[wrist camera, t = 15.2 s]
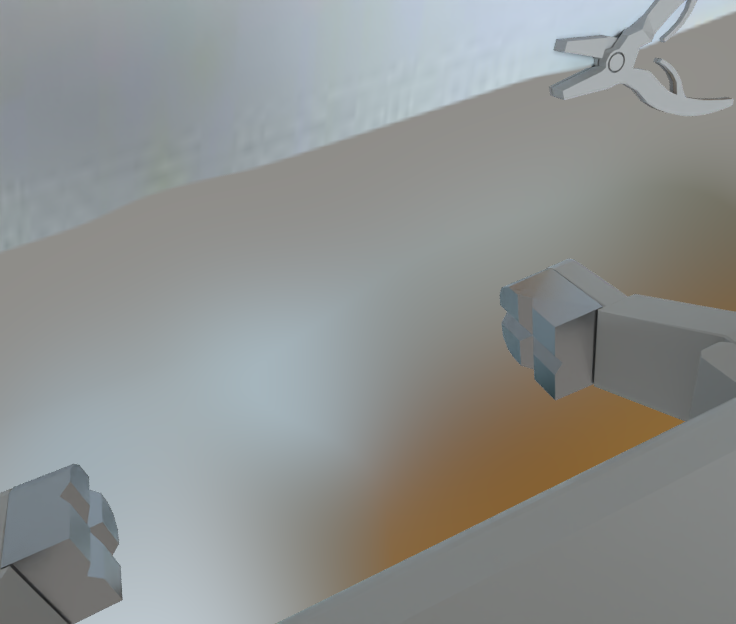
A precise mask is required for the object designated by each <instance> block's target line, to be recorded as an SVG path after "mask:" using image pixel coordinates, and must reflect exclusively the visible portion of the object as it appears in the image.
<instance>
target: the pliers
mask: <svg viewBox="0 0 736 624" xmlns="http://www.w3.org/2000/svg"><path fill="white" fill-rule="evenodd" d="M684 1H686V0H655V1H654V2H653V4H652V5H651V6H650V7H649V9H648V10H647V11H646V12H645V14H644V15H643V16H642V17H640V18H639V19H638V20H637V21H636V22H635V23H634V24H632V25H631V26H630V27H629V28H627V29H625V30H624V31H623V32H622V34H621V36H620V37H619V38H615V37H609V36H603V35H598V36H588V37H577V38H567V39H556V43H555V47H554V50H557V51H562V52H567V53H573V54H580V55H586V56H592V57H593V58H594V64H593V65H591V67H590V68H586V69H584V70H582V71H580V72H578V73H575V74H573V75H571V76H569V77H567V78H565V79H563V80H561V81H559V82H557V83H555V84H553V85H551V86H549V91H550V95H551V96H554V97H557V98H560V99H563V100H566V99H570V98H574V97H577V96H581V95H585V94H589V93H593V92H597V91H601V90H605V89H608V88H611V87H613V86H615V85H617V84H619V83H621V84H623V85H624V86H626V87H628V88H629V89H631V90H632V91H633V93H634V94H635V95H636V96H637V97H638V98H639V99H640V101H641V102H643V103H644V104H646V105H648V106H649V107H651V108H654V109H656V110H659V111H662V112H666V113H670V114H675V115H682V116H697V115H704V114H710V113H713V112H716V111H719V110H722V109H725V108H727V107H730V106H732V105H733V100H734V99H732V98H728V97H721V98H690V97H686V96H685V94H684V92H683V88H682V83H681V79H680V77H679V75H678V73H677V71H676V70H675V69H674V68H673V67H672V66H671V65H670V64H669V63H668V62H666V61H665V60H663V59H660V58H655V59H654V61H653V62H655V63H656V64H658V65H659V66H660V67H661V68H662V69H663V70H664V71H665V72H666V75H667V77H668V79H669V83H670V84H669V86H670V91H668V90H667V89H666V88H665V87H664V86H662V84H661V83H660V82H659V81H658V80H657V79H656V78H655V77H654V75H652V73H651V72H650V71H647V70H643V69H637V68H633V66H634V63H635V60H636V57H637V55H638V52H639V49H640V47H642V46H644V45H646V44H648V43H650V42H652V39H653V37H654V34H655V33H656V32H657V31H658V29H659V28H660V27H661V26H662V25H663V24H664V22H665V21H666V20H667V19H668V18H669V17H670V16H671V14H672V13H673V12H674V11H675V10H676V9H677V8H678V7H679V6H680V5H681V4H682V3H683V2H684ZM696 2H697V0H687V2H686V5H685V8H684V10H683V12H682V14H681V15H680V17H679V19H678V20H677V22H676V23H675V24H674V25H673V26H672V27H671V28H670V29H669V30H668V31H667V32H666V33H665V34H664V35H663V36H662V37H661V38H660V42H666V41H667V40H668V39H669V38H670V37H671V36H673V35H674V34H675V33H676V32H677V31H678V30H679V29H680V28H681V26H682V25H683V24H684V23H685V21H686V20H687V18H688V17H689V15H690V14H691V12H692V11H693V8H694V6H695V4H696Z"/></svg>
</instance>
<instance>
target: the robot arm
mask: <svg viewBox="0 0 736 624" xmlns="http://www.w3.org/2000/svg"><path fill="white" fill-rule="evenodd" d="M500 305H501V306H502V307H503V308H504V309H505V310H506V311H507V313H506V316H505V317H504V319H503V321H502V331H503V337H504V340H505V342H506V345H507V348H508V350H509V351H510V353H511V354H512V356H513V357H514V358H515V359H516V361H517V362H518V363H519V364H520V365H521V366H525V367H528V368H532V369H534V378H535V380H536V381H537V382H538V383H539V384H540V385H541V386H542V387H543V388H544V390H545V391H546V392H547V393H548V394H549V395H550V396H551V397H553V399H554V400H557V399H560V398H562V397H564V396H567V395H569V394H571V393H574V392H576V391H578V390H581V389H583V388H585V387H588V386H590V385H592V384H594V386H595V387H598V388H600V389H603V390H605V391H608V392H611V393H613V394H616V395H618V396H621V397H624V398H626V399H629V400H631V401H634V402H637V403H639V404H642V405H644V406H647V407H650V408H652V409H655V410H657V411H660V412H663V413H665V414H668V415H670V416H673V417H675V418H678V419H681V420H683V421H686V422H684V423H682V424H680V425H678V426H676V427H674V428H672V429H670V430H668V431H666V432H664V433H662V434H660V435H658V436H656V437H654V438H651V439H650V440H648V441H645V442H643V443H641V444H639V445H637V446H635V447H633V448H631V449H629V450H627V451H625V452H623V453H621V454H619V455H617V456H615V457H613V458H611V459H609V460H607V461H605V462H603V463H601V464H599V465H597V466H595V467H593V468H591V469H589V470H587V471H584V472H582V473H580V474H578V475H576V476H574V477H572V478H570V479H568V480H566V481H564V482H562V483H560V484H558V485H556V486H554V487H552V488H550V489H548V490H546V491H544V492H542V493H540V494H538V495H536V496H534V497H532V498H530V499H528V500H526V501H524V502H522V503H520V504H518V505H516V506H514V507H512V508H509V509H508V510H505V511H503V512H501V513H499V514H497V515H495V516H493V517H491V518H489V519H487V520H485V521H483V522H481V523H479V524H477V525H475V526H473V527H471V528H469V529H467V530H465V531H463V532H461V533H459V534H457V535H455V536H453V537H451V538H449V539H447V540H445V541H443V542H441V543H438V544H436V545H434V546H432V547H430V548H428V549H426V550H424V551H422V552H420V553H418V554H416V555H414V556H412V557H410V558H408V559H406V560H404V561H402V562H400V563H398V564H396V565H394V566H392V567H390V568H388V569H386V570H384V571H382V572H380V573H378V574H376V575H373V576H372V577H369V578H367V579H366V580H363V581H361V582H359V583H358V584H355V585H353V586H351V587H349V588H347V589H345V590H343V591H341V592H339V593H337V594H335V595H333V596H331V597H329V598H327V599H325V600H323V601H321V602H319V603H317V604H315V605H313V606H311V607H308V608H306V609H304V610H303V611H300V612H298V613H296V614H294V615H292V616H290V617H288V618H286V619H284V620H282V621H280V622H278V623H276V624H736V312H733V311H728V310H721V309H715V308H711V307H705V306H699V305H694V304H688V303H682V302H677V301H671V300H666V299H660V298H655V297H649V296H643V295H638V294H634V295H631V296H629V297H628V296H626V295H625V294H623V293H622V292H621V291H619V290H618V289H616V288H615V287H614V286H612V285H611V284H609V283H608V282H606V281H605V280H603V279H602V278H601V277H599V276H598V275H596V274H595V273H593V272H592V271H591V270H589V269H588V268H586V267H585V266H583V265H582V264H580V263H579V262H578V261H576V260H574V259H566V260H564V261H562V262H559V263H557V264H555V265H553V266H550V267H548V268H547V269H545V270H543V271H540V272H538V273H535V274H533V275H530V276H528V277H526V278H523V279H521V280H519V281H516V282H514V283H511V284H509V285H507V286H504V287H502V288H501V292H500ZM118 545H119V539H118V529H117V525H116V522H115V518H114V515H113V512H112V510H111V508H110V506H109V504H108V502H107V501H106V499H105V498H104V497H103V495H102V494H101V493H99V492H96V491H92V490H89V476H88V475H87V474H86V473H85V471H84V470H83V469H82V468H81V467H80V465H77V464H72V465H69V466H67V467H64V468H61V469H59V470H56V471H54V472H51V473H49V474H46V475H43V476H41V477H38V478H36V479H33V480H31V481H28V482H25V483H23V484H20V485H18V486H15V487H13V488H12V489H9V490H6V491H4V492H1V493H0V624H75V623H77V622H79V621H80V620H83V619H85V618H87V617H89V616H91V615H93V614H95V613H97V612H99V611H101V610H103V609H105V608H107V607H109V606H111V605H113V604H115V603H118V602H120V601H122V583H121V566H120V565H119V563H118V562H117V561H116V560H115V558H114V557H113V556H112V555H113V553H114V552H115V550H116V548H117V546H118Z"/></svg>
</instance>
